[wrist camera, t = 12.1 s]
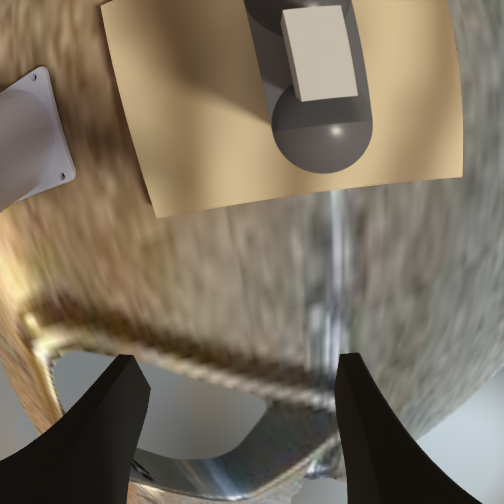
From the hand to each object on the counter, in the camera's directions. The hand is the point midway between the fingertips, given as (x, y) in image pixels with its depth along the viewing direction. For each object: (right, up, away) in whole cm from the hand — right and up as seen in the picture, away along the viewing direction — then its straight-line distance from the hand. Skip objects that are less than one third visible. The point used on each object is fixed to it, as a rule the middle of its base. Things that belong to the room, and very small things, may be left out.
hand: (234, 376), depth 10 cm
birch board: (+3, +14, +4) cm, 14 cm away
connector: (+3, +13, +3) cm, 14 cm away
